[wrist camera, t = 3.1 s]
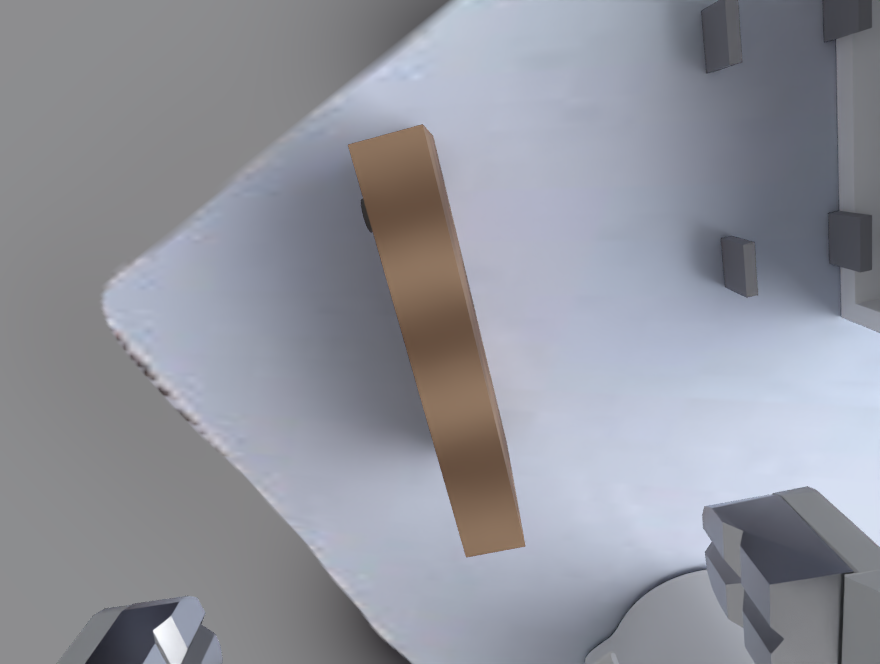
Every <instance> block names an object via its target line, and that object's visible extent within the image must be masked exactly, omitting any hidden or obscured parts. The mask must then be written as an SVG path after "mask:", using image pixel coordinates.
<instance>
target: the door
mask: <svg viewBox="0 0 880 664" xmlns="http://www.w3.org/2000/svg"><path fill="white" fill-rule="evenodd" d="M348 147H349V151H350V154H351V158H352V161H353V165H354V168H355V172H356V175H357V178H358V182H359V185H360V189H361V192H362V196H363V199H361V208H362V213H363V217H364V220H365V223H366V226H367V228H368V230H369V231H370V232H373V234H374V238H375V241H376V245H377V248H378V252H379V255H380V259H381V262H382V266H383V269H384V273H385V276H386V280H387V283H388V287H389V290H390V294H391V297H392V301H393V304H394V308H395V311H396V314H397V318H398V321H399V325H400V328H401V332H402V335H403V339H404V342H405V346H406V349H407V353H408V356H409V360H410V363H411V367H412V370H413V374H414V377H415V381H416V384H417V388H418V391H419V395H420V398H421V402H422V405H423V409H424V412H425V416H426V419H427V423H428V426H429V430H430V433H431V437H432V440H433V444H434V447H435V451H436V454H437V457H438V461H439V464H440V468H441V471H442V475H443V478H444V482H445V485H446V489H447V492H448V496H449V499H450V503H451V506H452V510H453V513H454V517H455V520H456V524H457V527H458V531H459V534H460V538H461V541H462V545H463V548H464V552H465V555H466V557H471V556H477V555H482V554H487V553H493V552H498V551H504V550H509V549H514V548H520V547H525V541H524V535H523V530H522V524H521V519H520V513H519V508H518V502H517V497H516V491H515V486H514V480H513V475H512V469H511V464H510V458H509V453H508V447H507V442H506V438H505V434H504V430H503V426H502V421H501V417H500V413H499V409H498V405H497V401H496V396H495V392H494V388H493V384H492V380H491V376H490V371H489V367H488V363H487V359H486V355H485V351H484V346H483V342H482V338H481V334H480V330H479V326H478V321H477V317H476V313H475V309H474V305H473V300H472V296H471V292H470V288H469V284H468V280H467V275H466V271H465V267H464V263H463V259H462V255H461V250H460V246H459V242H458V238H457V234H456V230H455V225H454V221H453V217H452V213H451V209H450V205H449V200H448V196H447V192H446V188H445V184H444V180H443V175H442V171H441V167H440V163H439V159H438V154H437V150H436V146H435V142H434V138H433V135H432V134H431V133H430V132H429V131H428V130H427V129H426V127H425V126H424V125H423V124H422V125H418V126H415V127H411V128H407V129H404V130H400V131H396V132H393V133H389V134H385V135H382V136H378V137H374V138H371V139H367V140H363V141H360V142H356V143H352V144H349V145H348Z"/></svg>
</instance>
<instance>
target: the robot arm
mask: <svg viewBox="0 0 880 664" xmlns="http://www.w3.org/2000/svg"><path fill="white" fill-rule="evenodd" d="M702 518H703V529H704V530H705V532H706V533H707V535H708V536H709V538H710V539H711V541H712V542H711V544H710V545H709V547H708V548H707V550H706V551H705V558H706V567H707V570H701V571H696V572H692V573H688V574H685V575H682V576H679V577H676V578H673V579H671V580H669V581H667V582H665V583H663V584H661V585H659V586H657V587H656V588H654V589H652V590H651V591H649V592H648V593H647V594H645V595H644V596H643V597H642V598H640V599H639V600H638V601H637V602H636V603H635V604H634V605H633V606H632V607H631V608H630V610H629V611H628V612H627V614H626V615H625V616H624V618H623V620H622V621H621V623H620V624H619V626H618V628H617V629H616V631H615V632H614V633H613V635H612V636H611V637H610V638H608V639H607V640H605V641H604V642H603V643H601V644H600V645H598V646H597V647H596V648H594V649H593V650H592V651H591V652H590V653H589V654H588V655H587V657H586V659H585V664H880V547H879V546H878V545H877V544H876V543H875V542H874V541H873V540H871V539H870V538H869V537H868V536H867V535H866V534H865V533H864V532H863V531H862V530H860V529H859V528H858V527H857V526H856V525H855V524H854V523H853V522H852V521H850V520H849V519H848V518H847V517H846V516H845V515H844V514H843V513H842V512H840V511H839V510H838V509H837V508H836V507H835V506H834V505H833V504H832V503H830V502H829V501H828V500H827V499H826V498H825V497H824V496H823V495H822V494H820V493H819V492H818V491H817V490H815V489H813V488H810V487H808V486H807V487H802V488H797V489H792V490H787V491H782V492H777V493H773V494H772V495H764V496H759V497H753V498H747V499H742V500H736V501H731V502H725V503H720V504H714V505H709V506H704V510H703V514H702ZM204 616H205V611H204V609H203V607H202V606H201V604H200V602H199V600H198V598H196V597H192V596H183V597H177V598H169V599H163V600H156V601H149V602H142V603H135V604H132V605H126V606H119V607H112V608H105V609H103V610H102V611H100V612H98V613H96V614H95V615H93V616H92V618H91V619H90V620H89V621H88V623H87V624H86V625H85V627H84V628H83V630H82V631H81V632H80V633H79V635H78V636H77V637H76V639H75V640H74V641H73V642H72V644H71V645H70V646H69V648H68V649H67V651H66V652H65V653H64V654H63V656H62V657H61V658H60V660H59V661H58V662H57V664H222V663H223V658H222V652H221V647H220V643H219V641H218V639H217V637H216V634H215V633H214V632H212V631H210V630H209V629H207V628H206V627H204V626H203V625H201V624H202V621H203V619H204Z"/></svg>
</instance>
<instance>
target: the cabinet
mask: <svg viewBox="0 0 880 664" xmlns="http://www.w3.org/2000/svg"><path fill="white" fill-rule="evenodd" d="M701 14H702V26H703V37H704V49H705V60H706V72H707V73H709V72H713V71H717V70H720V69H723V68H726V67H729V66H732V65H735V64H738V63H741V62H742V50H741V35H740V20H739V5H738V0H719V1H717V2H716V3H714V4H712V5H711V6H709V7H707V8H706V9H704V10H702V11H701ZM823 21H824V42H827V41H831V40H835V39H836V62H837V115H838V168H839V211H836V212H832V213H828V220H829V260H830V264H832V265H835V266H839V267H840V274H841V317H842V318H845V319H847V320H849V321H852V322H854V323H857V324H859V325H862V326H864V327H867V328H869V329H871V330H874V331H876V332H879V333H880V0H823ZM721 246H722V257H723V269H724V280H725V287H726V288H728V289H730V290H732V291H734V292H736V293H738V294H740V295H743V296H745V297H752V296H756V295H758V287H757V272H756V257H755V242H752V241H748V240H745V239H741V238H737V237H734V236H729V237H724V238H721Z"/></svg>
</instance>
